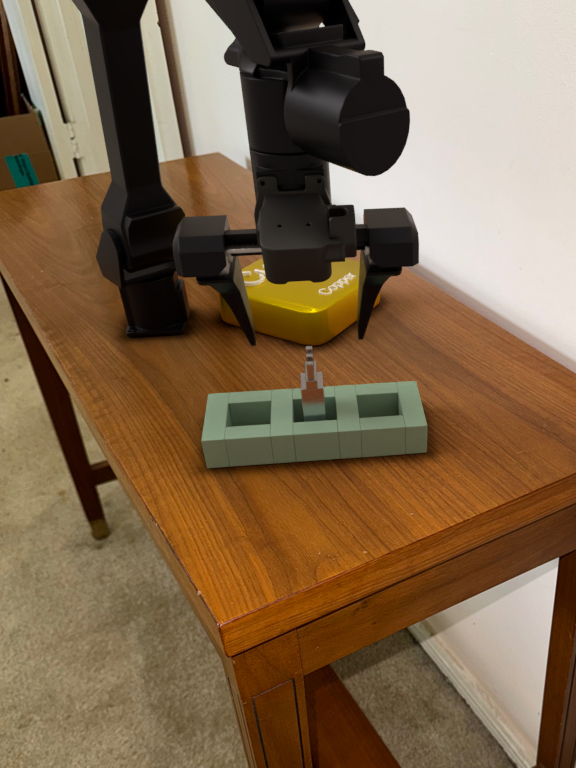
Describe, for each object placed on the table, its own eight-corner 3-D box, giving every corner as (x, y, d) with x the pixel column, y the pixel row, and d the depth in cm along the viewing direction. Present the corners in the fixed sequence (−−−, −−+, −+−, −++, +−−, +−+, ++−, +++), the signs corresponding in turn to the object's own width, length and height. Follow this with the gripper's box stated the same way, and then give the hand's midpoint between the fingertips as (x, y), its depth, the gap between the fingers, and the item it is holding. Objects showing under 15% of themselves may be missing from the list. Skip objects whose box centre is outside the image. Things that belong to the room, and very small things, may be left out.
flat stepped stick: (306, 447, 71) (297, 365, 65) (306, 426, 74) (297, 346, 68) (328, 446, 71) (321, 364, 65) (326, 425, 74) (320, 344, 68)
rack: (207, 468, 68) (201, 440, 67) (213, 420, 74) (208, 393, 72) (426, 453, 70) (427, 425, 68) (416, 406, 76) (416, 380, 74)
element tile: (318, 350, 85) (315, 309, 82) (214, 321, 90) (207, 282, 87) (386, 300, 95) (385, 261, 92) (288, 276, 100) (284, 239, 97)
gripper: (142, 184, 49) (189, 396, 59) (430, 172, 50) (426, 381, 61) (162, 137, 57) (200, 330, 67) (410, 128, 58) (410, 319, 69)
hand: (307, 340), depth 66 cm, fingers open, 9 cm apart
